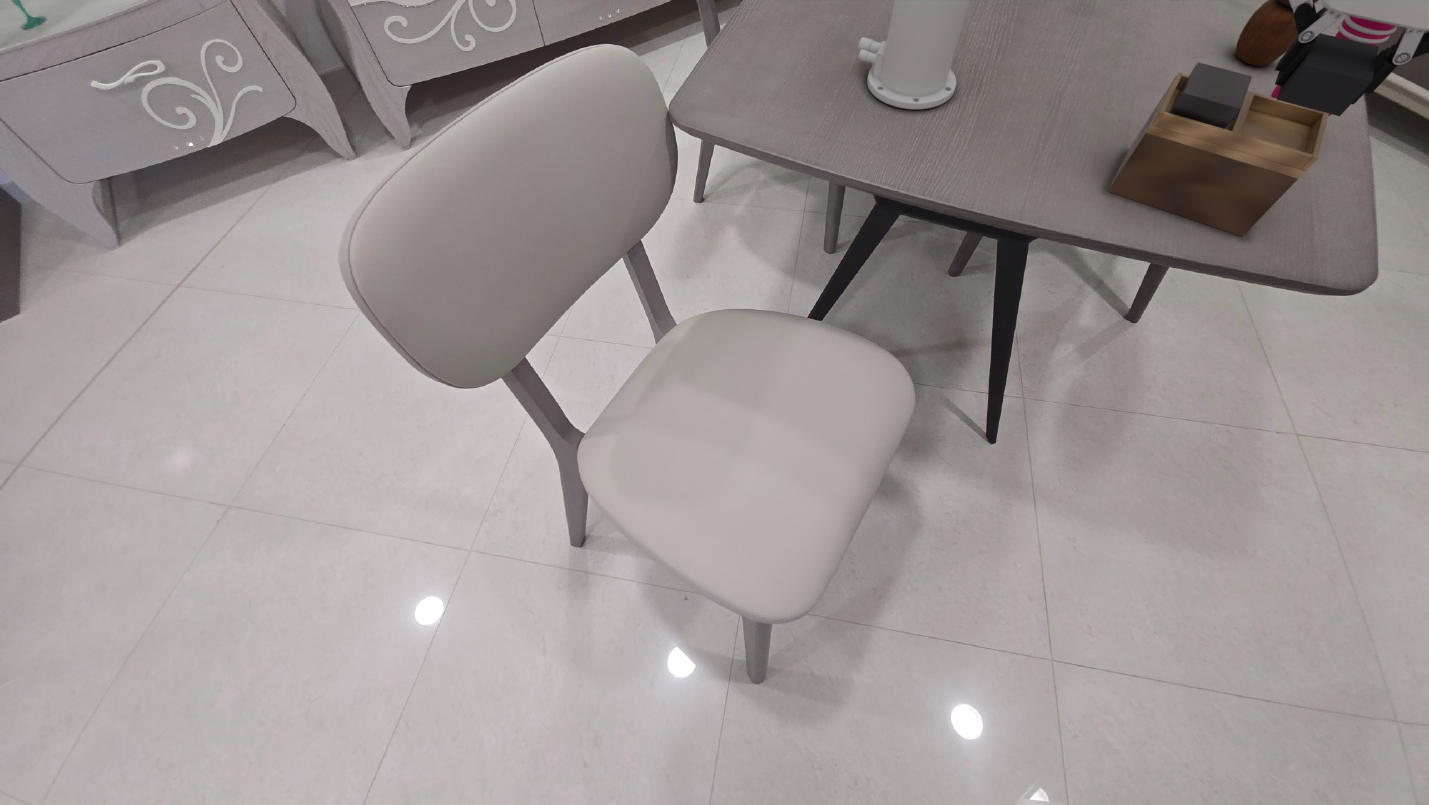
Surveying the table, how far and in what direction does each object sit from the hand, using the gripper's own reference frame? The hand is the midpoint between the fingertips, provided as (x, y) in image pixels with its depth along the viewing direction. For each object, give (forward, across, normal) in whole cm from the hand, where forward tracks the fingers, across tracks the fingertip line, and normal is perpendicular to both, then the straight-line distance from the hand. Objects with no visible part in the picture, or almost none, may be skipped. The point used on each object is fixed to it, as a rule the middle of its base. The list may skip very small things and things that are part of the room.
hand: (1316, 85), depth 59 cm
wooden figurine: (+15, +2, -36) cm, 39 cm away
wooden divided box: (+15, +4, 0) cm, 15 cm away
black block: (0, 0, 0) cm, 0 cm away
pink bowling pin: (+15, -4, -20) cm, 25 cm away
